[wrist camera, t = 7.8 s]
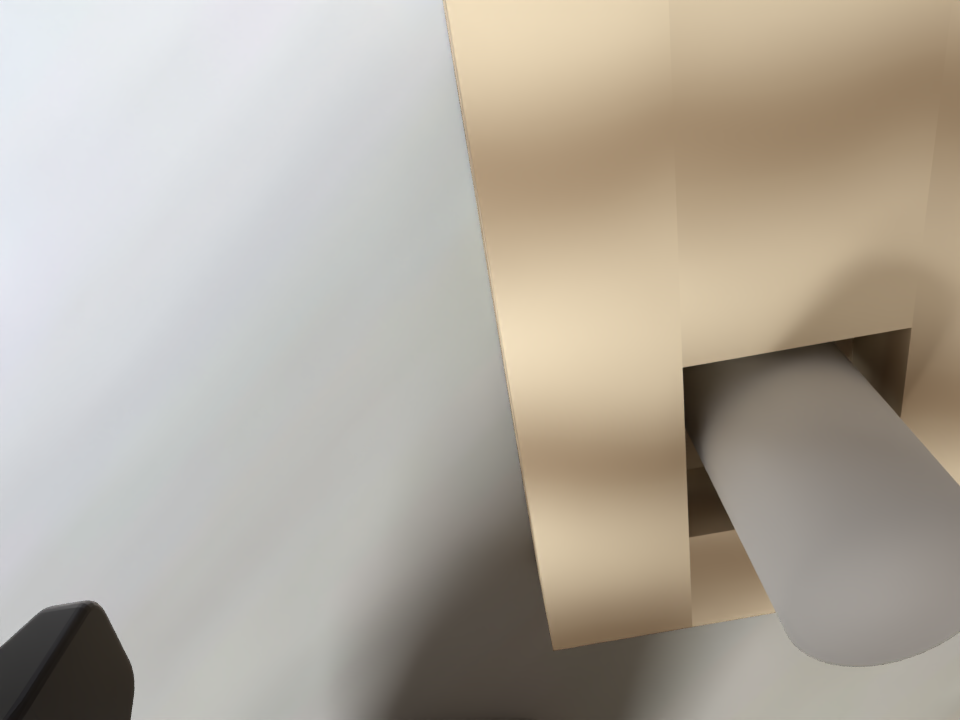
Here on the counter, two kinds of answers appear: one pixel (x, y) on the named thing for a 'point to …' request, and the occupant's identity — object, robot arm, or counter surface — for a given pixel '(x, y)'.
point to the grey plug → (831, 503)
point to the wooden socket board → (700, 256)
